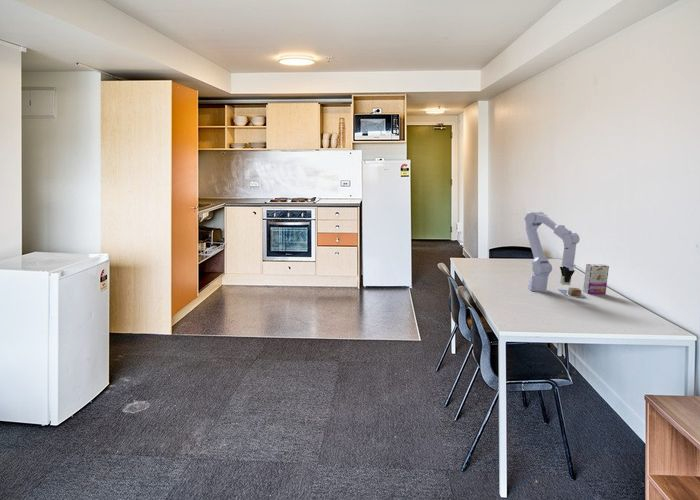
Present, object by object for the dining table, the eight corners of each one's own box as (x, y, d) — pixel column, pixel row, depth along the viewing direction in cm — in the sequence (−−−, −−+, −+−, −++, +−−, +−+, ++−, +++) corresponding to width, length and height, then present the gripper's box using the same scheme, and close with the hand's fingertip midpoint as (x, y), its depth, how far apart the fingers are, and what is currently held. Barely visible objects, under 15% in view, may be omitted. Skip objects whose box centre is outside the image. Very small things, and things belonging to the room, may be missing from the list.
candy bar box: (599, 292, 285) (603, 264, 282) (605, 294, 280) (609, 265, 278) (581, 292, 283) (585, 263, 280) (587, 294, 278) (591, 265, 275)
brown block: (570, 295, 271) (571, 289, 270) (568, 293, 276) (568, 287, 275) (580, 296, 270) (581, 290, 270) (577, 294, 275) (578, 288, 275)
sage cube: (562, 284, 266) (563, 277, 265) (560, 282, 270) (561, 275, 269) (570, 285, 266) (571, 277, 265) (568, 283, 269) (568, 276, 269)
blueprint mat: (565, 296, 270) (566, 296, 270) (557, 289, 286) (557, 289, 285) (587, 298, 269) (587, 297, 269) (577, 291, 284) (577, 290, 284)
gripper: (581, 259, 258) (577, 285, 260) (572, 254, 272) (569, 279, 274) (566, 258, 259) (563, 283, 261) (559, 253, 273) (555, 277, 275)
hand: (565, 281), depth 268 cm, fingers closed on sage cube, 4 cm apart
